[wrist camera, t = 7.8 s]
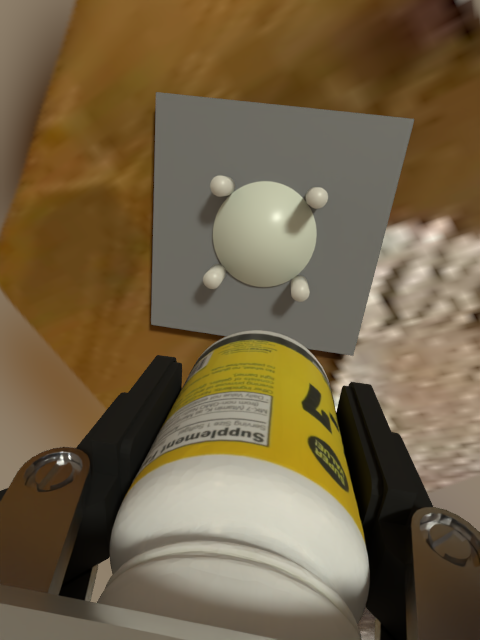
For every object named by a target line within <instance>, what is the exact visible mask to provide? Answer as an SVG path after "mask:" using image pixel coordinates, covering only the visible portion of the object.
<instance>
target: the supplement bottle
mask: <svg viewBox="0 0 480 640" xmlns="http://www.w3.org/2000/svg"><path fill="white" fill-rule="evenodd" d="M110 564H111V569H112V573H113V575H112V576H111V578H110V580H109V582H108V583H107V585H106V587H105V590H104V591H103V593H102V594H101V596H100V598H99V600H98V602H97V603H99V604H104V605H109V606H114V607H119V608H124V609H129V610H134V611H140V612H145V613H150V614H155V615H160V616H164V617H169V618H174V619H179V620H184V621H189V622H194V623H199V624H204V625H209V626H214V627H219V628H224V629H229V630H234V631H239V632H244V633H248V634H253V635H258V636H263V637H268V638H273V639H278V640H361V634H360V631H359V628H358V625H357V624H358V623H359V621H360V619H361V617H362V615H363V612H364V609H365V606H366V602H367V598H368V592H369V584H370V582H369V581H370V570H369V561H368V553H367V549H366V543H365V537H364V532H363V528H362V524H361V520H360V516H359V511H358V507H357V503H356V499H355V495H354V491H353V487H352V482H351V477H350V471H349V467H348V463H347V459H346V455H345V451H344V446H343V441H342V436H341V432H340V427H339V424H338V419H337V415H336V411H335V405H334V400H333V396H332V392H331V388H330V385H329V382H328V379H327V376H326V374H325V371H324V370H323V368H322V366H321V364H320V363H319V362H318V360H317V359H316V358H315V357H314V355H313V354H312V353H311V352H310V351H309V350H308V349H307V348H306V347H304V346H303V345H302V344H300V343H299V342H297V341H295V340H293V339H291V338H289V337H287V336H284V335H282V334H278V333H275V332H270V331H262V330H252V331H243V332H238V333H235V334H232V335H229V336H227V337H224V338H222V339H220V340H218V341H217V342H215V343H214V344H212V345H211V346H210V347H209V348H207V349H206V350H205V351H204V353H203V354H202V355H201V356H200V358H199V359H198V360H197V362H196V364H195V365H194V367H193V369H192V370H191V372H190V374H189V376H188V378H187V380H186V382H185V384H184V386H183V388H182V389H181V391H180V393H179V395H178V397H177V399H176V401H175V403H174V405H173V407H172V408H171V410H170V412H169V414H168V416H167V418H166V420H165V422H164V424H163V426H162V428H161V429H160V431H159V433H158V435H157V437H156V439H155V441H154V443H153V445H152V447H151V449H150V451H149V452H148V454H147V456H146V458H145V460H144V462H143V464H142V466H141V468H140V469H139V471H138V473H137V475H136V477H135V478H134V480H133V482H132V484H131V486H130V488H129V490H128V492H127V494H126V495H125V497H124V499H123V502H122V504H121V506H120V509H119V511H118V514H117V516H116V519H115V522H114V525H113V529H112V533H111V539H110Z"/></svg>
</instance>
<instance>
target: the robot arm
mask: <svg viewBox="0 0 480 640" xmlns="http://www.w3.org/2000/svg"><path fill="white" fill-rule="evenodd" d="M181 383H182V364H181V363H177V361H176V358H175V357H168V356H160V355H157V356H156V357H155V359H154V360H153V361H152V362H151V364H150V365H149V366H148V368H147V369H146V370H145V371H144V373H143V374H142V375H141V377H140V378H139V379H138V381H137V382H136V383H135V384H134V386H133V387H132V388H131V390H130V391H129V392H128V393H125V392H124V393H121V394H120V395H119V396H118V397H117V398H116V399H115V401H114V402H113V403H112V404H111V405H110V407H109V408H108V409H107V410H106V412H105V413H104V414H103V415H102V417H101V418H100V419H99V420H98V422H97V423H96V424H95V425H94V427H93V428H92V429H91V430H90V432H89V433H88V434H87V435H86V436H85V438H84V439H83V440H82V441H81V443H80V444H79V445H78V446H77V448H71V447H60V448H53V449H50V450H47V451H44V452H41V453H39V454H38V455H36V456H34V457H32V458H31V459H30V460H28V461H27V462H26V463H24V465H23V466H22V467H21V468H20V470H19V471H18V472H17V474H16V475H15V477H14V479H13V481H12V482H11V484H10V486H9V488H7V489H4V490H2V491H0V640H278V639H273V638H268V637H263V636H258V635H253V634H248V633H244V632H239V631H234V630H229V629H224V628H219V627H214V626H209V625H204V624H199V623H194V622H189V621H184V620H179V619H174V618H169V617H164V616H160V615H155V614H150V613H145V612H140V611H134V610H129V609H124V608H119V607H114V606H109V605H104V604H99V603H93V602H90V601H91V596H92V591H93V587H94V583H95V579H96V574H97V570H98V564H99V563H101V562H102V561H104V560H106V559H108V558H109V557H110V539H111V533H112V529H113V525H114V522H115V519H116V516H117V514H118V511H119V509H120V506H121V504H122V502H123V499H124V497H125V495H126V494H127V492H128V490H129V488H130V486H131V484H132V482H133V480H134V478H135V477H136V475H137V473H138V471H139V469H140V468H141V466H142V464H143V462H144V460H145V458H146V456H147V454H148V452H149V451H150V449H151V447H152V445H153V443H154V441H155V439H156V437H157V435H158V433H159V431H160V429H161V428H162V426H163V424H164V422H165V420H166V418H167V416H168V414H169V412H170V410H171V408H172V407H173V405H174V403H175V401H176V399H177V397H178V395H179V393H180V391H181ZM336 415H337V419H338V424H339V427H340V432H341V436H342V441H343V446H344V451H345V455H346V459H347V463H348V467H349V471H350V477H351V482H352V487H353V491H354V495H355V499H356V503H357V507H358V511H359V516H360V520H361V524H362V528H363V532H364V537H365V543H366V549H367V553H368V561H369V570H370V581H369V582H370V584H369V592H368V598H367V602H366V608H367V609H368V610H369V611H370V612H371V613H372V614H373V615H374V616H375V617H376V620H375V635H374V640H480V532H479V531H478V530H477V529H476V528H474V527H473V526H472V525H471V524H470V523H469V522H467V521H466V520H464V519H463V518H461V517H460V516H458V515H456V514H454V513H451V512H449V511H447V510H444V509H440V508H436V507H433V505H432V503H431V501H430V499H429V497H428V494H427V492H426V490H425V488H424V486H423V483H422V481H421V479H420V477H419V475H418V473H417V470H416V468H415V466H414V464H413V462H412V459H411V457H410V455H409V453H408V451H407V449H406V446H405V444H404V442H403V440H402V438H401V436H400V435H399V434H398V433H393V432H391V430H390V428H389V426H388V423H387V421H386V419H385V416H384V414H383V411H382V409H381V407H380V404H379V402H378V400H377V397H376V395H375V393H374V390H373V388H372V386H371V385H369V384H362V383H355V382H351V383H350V384H349V386H343V387H342V391H341V395H340V399H339V404H338V408H337V413H336Z"/></svg>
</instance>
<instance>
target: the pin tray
mask: <svg viewBox="0 0 480 640" xmlns="http://www.w3.org/2000/svg"><path fill="white" fill-rule="evenodd" d="M413 122H414V119H408V118H399V117H389V116H380V115H370V114H360V113H351V112H341V111H332V110H322V109H312V108H303V107H293V106H283V105H274V104H264V103H255V102H245V101H235V100H226V99H216V98H206V97H197V96H187V95H178V94H168V93H158V92H156V118H155V165H154V212H153V259H152V306H151V325H157V326H163V327H170V328H176V329H183V330H189V331H196V332H202V333H209V334H215V335H222V336H229V335H232V334H235V333H238V332H243V331H252V330H262V331H270V332H275V333H278V334H282V335H284V336H287V337H289V338H291V339H293V340H295V341H297V342H299V343H300V344H302V345H303V346H304V347H306V348H307V349H313V350H319V351H326V352H332V353H339V354H345V355H352V356H353V354H354V350H355V346H356V343H357V339H358V335H359V331H360V327H361V323H362V319H363V316H364V312H365V308H366V304H367V300H368V296H369V292H370V289H371V285H372V281H373V277H374V273H375V269H376V265H377V261H378V258H379V254H380V250H381V246H382V242H383V238H384V234H385V231H386V227H387V223H388V219H389V215H390V211H391V207H392V204H393V200H394V196H395V192H396V188H397V184H398V180H399V176H400V173H401V169H402V165H403V161H404V157H405V153H406V149H407V146H408V142H409V138H410V134H411V130H412V126H413Z"/></svg>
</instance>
